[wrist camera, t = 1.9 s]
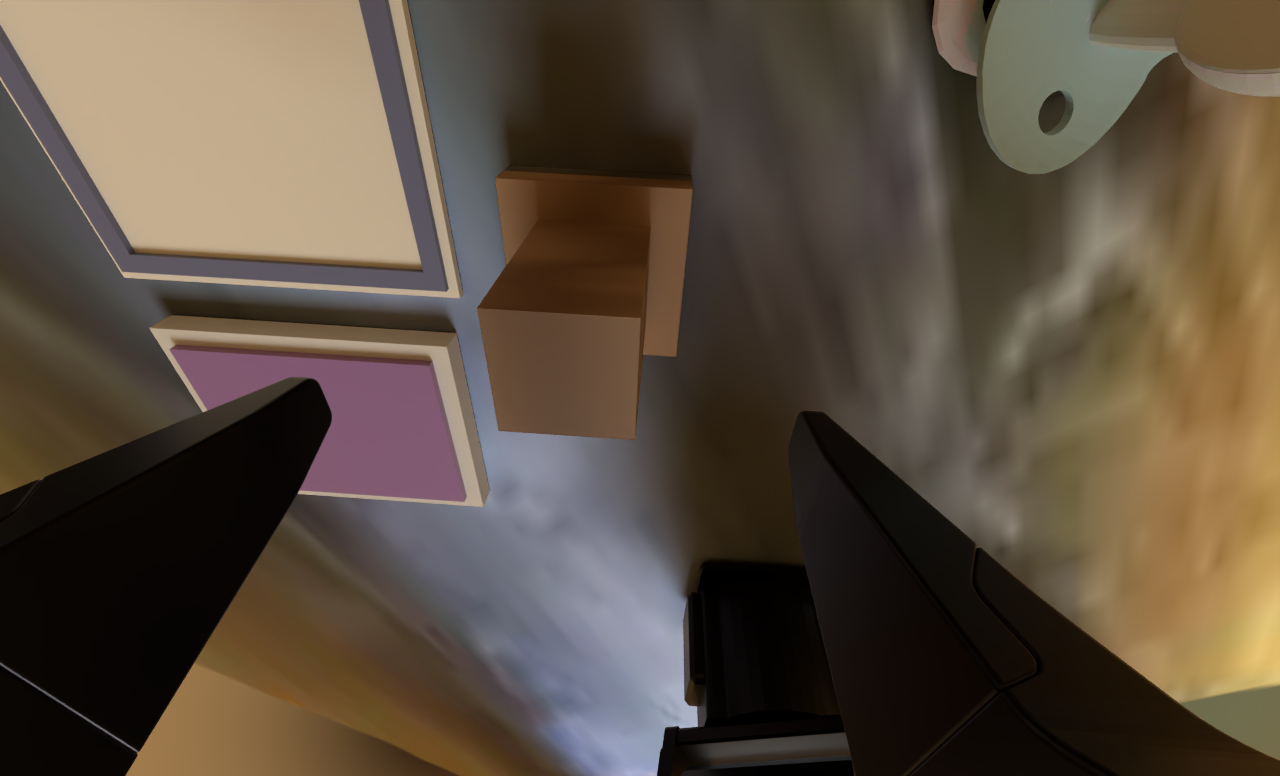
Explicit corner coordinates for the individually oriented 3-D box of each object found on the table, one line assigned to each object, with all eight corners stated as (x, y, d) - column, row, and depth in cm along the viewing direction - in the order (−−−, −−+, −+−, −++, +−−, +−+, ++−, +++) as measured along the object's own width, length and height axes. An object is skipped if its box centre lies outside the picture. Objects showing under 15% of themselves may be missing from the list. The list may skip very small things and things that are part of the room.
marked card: (362, -232, 9) (348, -244, 9) (463, 294, 16) (457, 301, 16) (-193, -255, 10) (-230, -266, 9) (132, 273, 16) (118, 280, 16)
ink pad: (456, 332, 17) (443, 351, 16) (489, 490, 22) (481, 512, 21) (171, 315, 17) (141, 332, 16) (266, 475, 22) (247, 495, 21)
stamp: (691, 174, 14) (701, 269, 8) (676, 332, 17) (676, 474, 11) (510, 164, 14) (410, 252, 8) (528, 323, 17) (461, 459, 11)
